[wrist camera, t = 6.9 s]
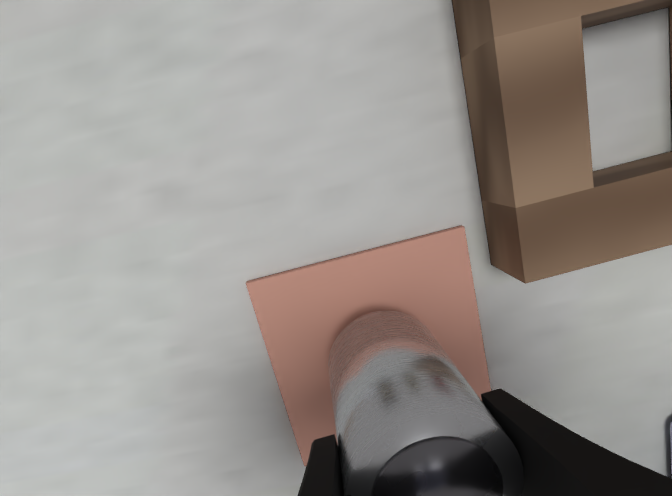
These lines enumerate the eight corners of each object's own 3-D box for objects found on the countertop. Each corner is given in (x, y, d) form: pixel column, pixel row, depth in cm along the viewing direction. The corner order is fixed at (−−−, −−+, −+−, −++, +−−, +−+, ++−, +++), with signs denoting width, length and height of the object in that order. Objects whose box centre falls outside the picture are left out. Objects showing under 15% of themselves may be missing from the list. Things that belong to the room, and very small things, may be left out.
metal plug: (440, 402, 16) (526, 553, 10) (334, 419, 15) (355, 585, 9) (435, 303, 14) (528, 403, 9) (321, 319, 14) (336, 434, 8)
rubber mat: (491, 409, 18) (494, 413, 17) (304, 461, 17) (304, 466, 17) (461, 225, 15) (464, 226, 15) (246, 281, 15) (245, 283, 15)
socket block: (735, 200, 16) (811, 207, 14) (491, 264, 16) (525, 283, 14) (740, -97, 14) (836, -153, 11) (448, -26, 13) (481, -68, 11)
